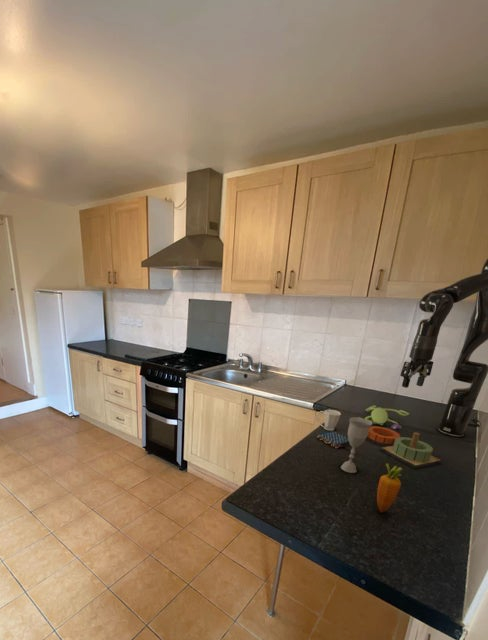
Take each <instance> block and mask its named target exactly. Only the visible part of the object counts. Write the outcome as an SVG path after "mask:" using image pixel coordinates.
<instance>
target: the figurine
mask: <svg viewBox="0 0 488 640" xmlns="http://www.w3.org/2000/svg"><path fill="white" fill-rule="evenodd" d="M370 411H371V413H370V415H367V416H365V418H364V419H366V420H369V421H371V422H372V425H379V426H380V427H383V426H384V424H385V423H386V422H388V423H392V425H391V426H390V428H392V429H393V430H402V425H401V424H400V423H398V422H397V421H396V420H392V419H389V414H388V412H393V413H396V414H398V415H399V416H400V417H408V416H409V415H410V413H409V412H407V411H405V410H402V409H399V410H398V409H395V408H394V409H393V408H382V407H377V405H371V406H369V407H367V408H366V409H365V412H367V413H369V412H370ZM357 418H361V416H358V417H357Z"/></svg>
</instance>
